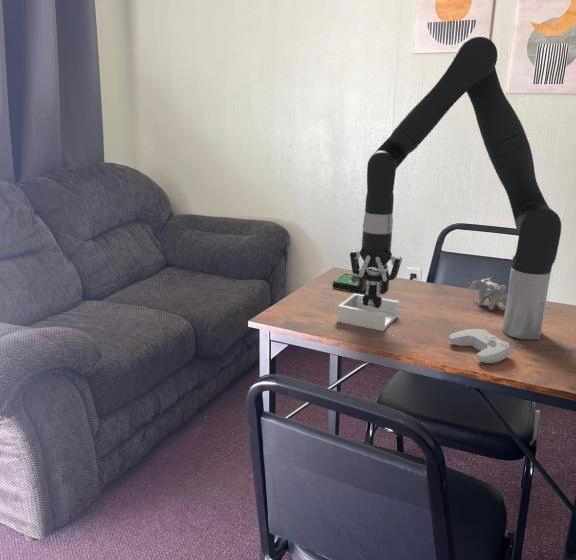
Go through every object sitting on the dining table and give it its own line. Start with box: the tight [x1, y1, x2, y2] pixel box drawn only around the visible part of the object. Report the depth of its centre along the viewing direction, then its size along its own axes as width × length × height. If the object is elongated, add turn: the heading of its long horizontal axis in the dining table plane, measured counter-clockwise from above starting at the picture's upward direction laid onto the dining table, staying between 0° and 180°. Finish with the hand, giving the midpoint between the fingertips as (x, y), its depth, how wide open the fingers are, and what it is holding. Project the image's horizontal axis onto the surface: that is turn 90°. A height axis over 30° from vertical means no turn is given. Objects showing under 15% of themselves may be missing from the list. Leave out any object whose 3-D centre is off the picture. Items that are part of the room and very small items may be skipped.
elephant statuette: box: [469, 277, 508, 311], centre depth 165 cm, size 9×12×8 cm
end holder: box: [336, 292, 399, 332], centre depth 152 cm, size 13×12×4 cm
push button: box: [358, 267, 383, 308], centre depth 150 cm, size 7×5×10 cm
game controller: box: [448, 328, 512, 364], centre depth 133 cm, size 14×4×10 cm
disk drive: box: [332, 273, 383, 294], centre depth 179 cm, size 10×3×15 cm
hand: (373, 291), depth 150 cm, fingers closed on push button, 5 cm apart
